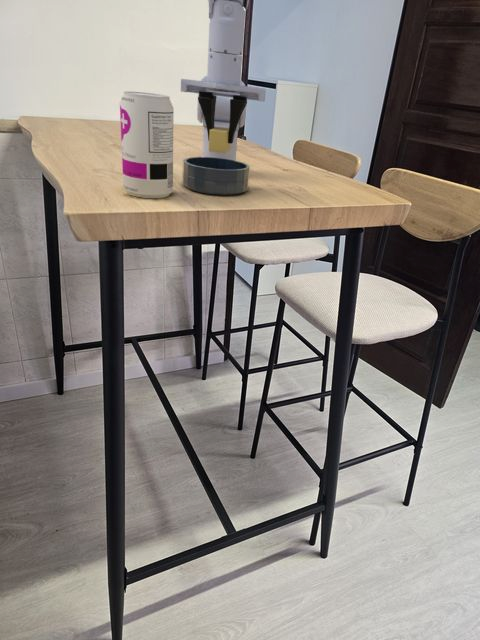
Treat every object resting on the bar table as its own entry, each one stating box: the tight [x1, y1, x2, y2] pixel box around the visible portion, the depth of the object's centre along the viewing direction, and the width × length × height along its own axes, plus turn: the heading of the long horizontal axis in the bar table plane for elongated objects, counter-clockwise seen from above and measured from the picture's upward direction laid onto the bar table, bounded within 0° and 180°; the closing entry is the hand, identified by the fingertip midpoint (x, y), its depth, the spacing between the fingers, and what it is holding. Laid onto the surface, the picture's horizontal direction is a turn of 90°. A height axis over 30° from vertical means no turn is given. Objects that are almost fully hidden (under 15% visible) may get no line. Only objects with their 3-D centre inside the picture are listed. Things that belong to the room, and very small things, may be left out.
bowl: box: [181, 156, 251, 196], centre depth 89 cm, size 12×12×4 cm
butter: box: [209, 126, 232, 153], centre depth 86 cm, size 7×3×4 cm, turn 174°
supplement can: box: [119, 90, 174, 199], centre depth 77 cm, size 8×8×15 cm
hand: (220, 141), depth 86 cm, fingers closed on butter, 3 cm apart
